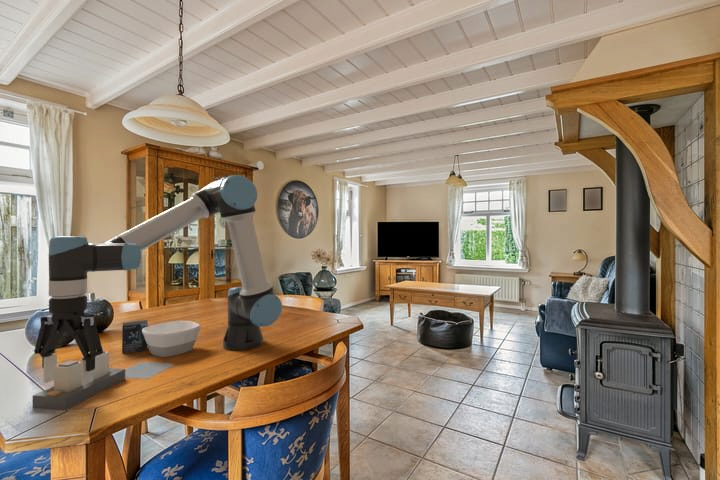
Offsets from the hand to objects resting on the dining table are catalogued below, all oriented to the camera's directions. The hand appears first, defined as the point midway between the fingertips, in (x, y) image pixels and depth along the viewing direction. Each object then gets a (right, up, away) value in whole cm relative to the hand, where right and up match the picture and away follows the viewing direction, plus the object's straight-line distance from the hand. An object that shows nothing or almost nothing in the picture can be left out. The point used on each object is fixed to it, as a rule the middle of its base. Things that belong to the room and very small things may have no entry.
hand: (68, 381), depth 88 cm
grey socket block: (0, -5, +4) cm, 6 cm away
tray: (+7, -5, +19) cm, 21 cm away
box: (-8, -5, +38) cm, 40 cm away
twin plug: (0, -4, 0) cm, 4 cm away
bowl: (+6, -5, +38) cm, 38 cm away
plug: (+1, -4, +8) cm, 9 cm away
